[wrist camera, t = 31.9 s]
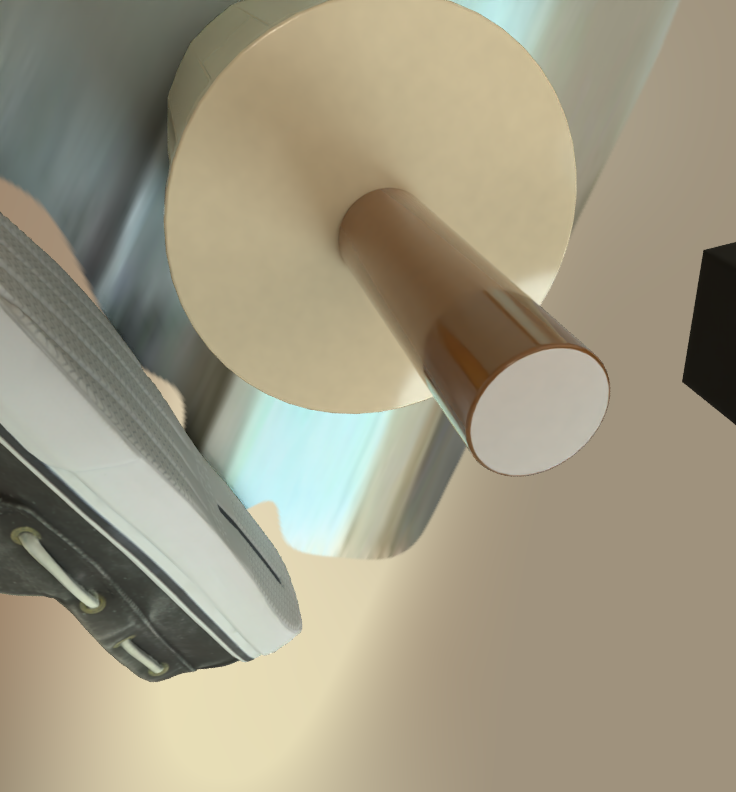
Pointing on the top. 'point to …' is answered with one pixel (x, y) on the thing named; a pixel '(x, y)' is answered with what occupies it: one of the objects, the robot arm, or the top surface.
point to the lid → (388, 225)
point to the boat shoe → (119, 492)
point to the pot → (218, 54)
